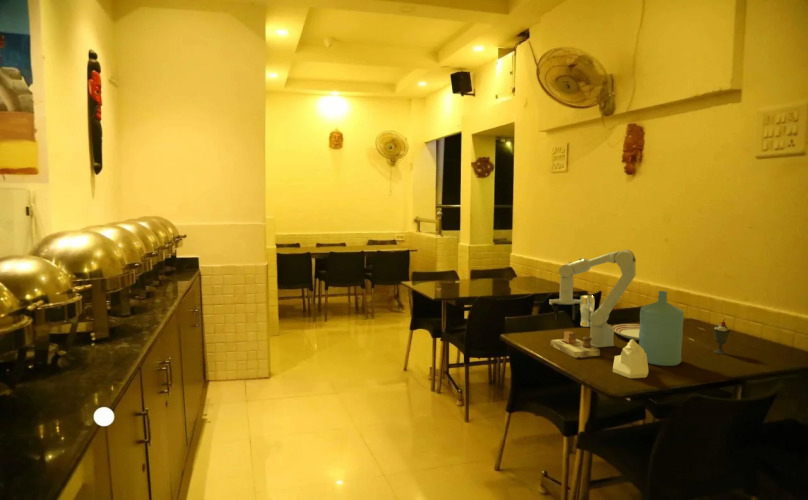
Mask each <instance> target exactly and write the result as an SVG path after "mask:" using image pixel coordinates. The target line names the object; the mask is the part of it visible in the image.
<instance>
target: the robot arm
mask: <svg viewBox="0 0 808 500" xmlns="http://www.w3.org/2000/svg"><path fill="white" fill-rule="evenodd" d="M636 261H637V260H636V257H635V255H634V252H633V251H631V250H630V249H623V250H617V251H612V252H608V253H606V254H602V255H600V256H596V257H593V258H590V259H587V258H583V257H580V258H578V260H575V261H569V262H568V263H566V264H563V265H561V266H560V267H559V269H558V275H559V277H560V278H559V298H554V299H549V302H548V303H549V305H550V306H551V308H552V310H553V313H554V319H555V320H556V321H558V320H559V309H560V306H559V305H571V306H572V308H571V309H572V314H571V315H572V316H571V317H572V318H571V319H572V320H573V321H576V317H577V315H578V313H579V311H580V307H581V305H582V304H583V300H580V299H576V298H574V297H573V293H574V275H580V274H582V273H586V272H588V271H590V270H591V268H592V267H595V266H598V265H599V266H600V265H602V264H605V263H611V264H616V265H617V266H618V267H619V269H620V271H621V272H620V273H621V276H620V277H619V279H618V280H617V282H616V284H615V285H614V286H613V288H612V289H611V291H610V292H609V293H608V295H607V296H606V298H605V299H604V300H603V302H602V304H600V306H599V307H598V308H597V309H596V310H594V312H593V313H592V314H591V316H590V321H591V327H589V329H590V330H589V331H590V332H589V334H590V335H589V337H591V338H592V340H591V346H593V347H595V348H598V349H599V348H607V347H615V344H614V339H615V338H614V337H615V336H614V335H615V332H614V330H613V325H611V324H608V322H607V321H608V320H609V318H610V313H611V312H612V310H613V308H614V307H615V306H616V304H617V303H618V302H619V300H620V299H621V297H622V295H623V294H624V293H625V292H626V290H627V289H628V287H629V286H630V284H631V283H632V282H633V280H634V279H635V277H636V274H637V271H636V267H637V266H636V264H637V263H636Z"/></svg>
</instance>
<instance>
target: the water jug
mask: <svg viewBox="0 0 808 500" xmlns="http://www.w3.org/2000/svg"><path fill="white" fill-rule="evenodd" d="M657 293H658V297H657V301H656V302H652V303H650V304H646V305H643V306H641V307H640V311H639V325H640V331H639V341H638V345H640V346H641V347H642V348H643V349H644V352H645V353H646V355H647V362H648V365H649V364H650V365H655V366H660V367H674V366H678V365H680V363H682V345H683V329H684V328H683V327H684V320H685V319H684V317H685V316H684V311H683V309H680V308H678V307H677V306H675V305H673V304H671V303H670V302H668V301H667V300H668V295H667V294H668V292H667V291H664V290H663V291H662V290H659V291H657Z"/></svg>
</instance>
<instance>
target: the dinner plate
mask: <svg viewBox="0 0 808 500" xmlns="http://www.w3.org/2000/svg"><path fill="white" fill-rule="evenodd" d="M612 327H613V330H614V333H616V334H617V335H620V337H623V338H625V339H628V340H632V339H634V341H635V342H639V331H640V323H639V324H636V323H621V324H615V325H612Z"/></svg>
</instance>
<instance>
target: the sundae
mask: <svg viewBox="0 0 808 500" xmlns="http://www.w3.org/2000/svg"><path fill="white" fill-rule="evenodd" d="M712 331H713V333H714V341H715V343H717V345H718V349H717V350H716V349H715V350H713V353H714V354H718V355H727V354H728V352H727V351H724V350H723V345H725V344H726V343H727V341H728V337H729V333H731V331H732V330H731V329H729V328H728V325H727V323H726V318H724V320H722V321H721V322H718V324H717V325H716V326H713V327H712Z"/></svg>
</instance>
